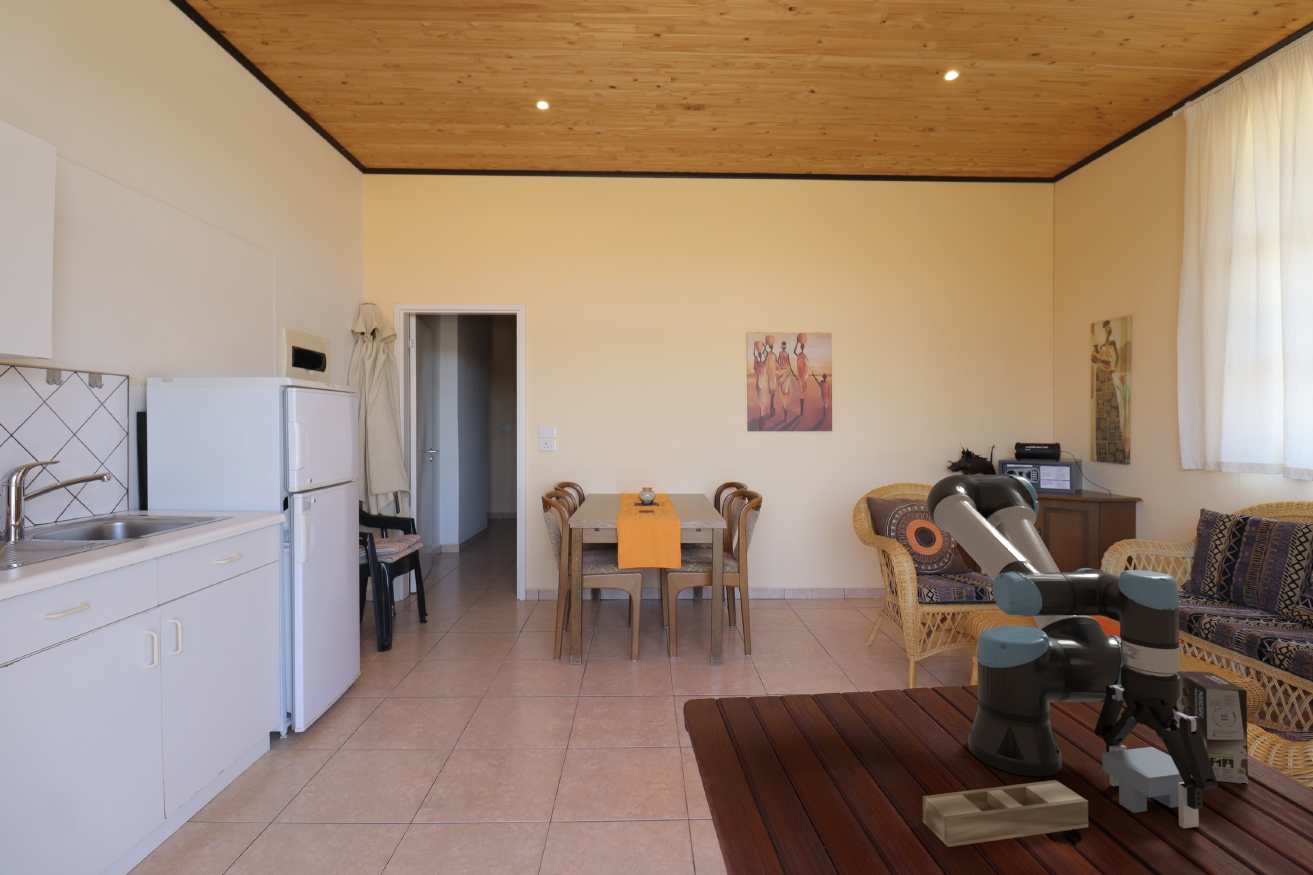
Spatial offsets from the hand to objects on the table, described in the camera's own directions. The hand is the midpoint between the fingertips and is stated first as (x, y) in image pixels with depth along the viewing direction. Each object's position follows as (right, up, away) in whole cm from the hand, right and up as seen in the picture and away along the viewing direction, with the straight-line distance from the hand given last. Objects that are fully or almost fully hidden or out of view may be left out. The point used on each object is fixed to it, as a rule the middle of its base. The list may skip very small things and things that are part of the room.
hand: (1151, 803), depth 100 cm
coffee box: (+19, 0, +11) cm, 22 cm away
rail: (-27, 0, -5) cm, 27 cm away
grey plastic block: (0, 0, 0) cm, 0 cm away
